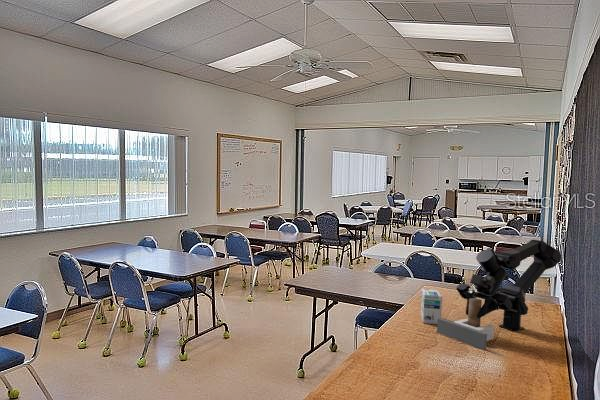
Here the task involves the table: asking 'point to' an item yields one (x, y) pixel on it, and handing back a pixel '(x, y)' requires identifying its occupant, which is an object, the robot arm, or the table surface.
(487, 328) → the socket block
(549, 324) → the table surface
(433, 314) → the light bulb box
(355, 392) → the table surface
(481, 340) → the backstop wall
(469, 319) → the dowel
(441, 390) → the table surface
